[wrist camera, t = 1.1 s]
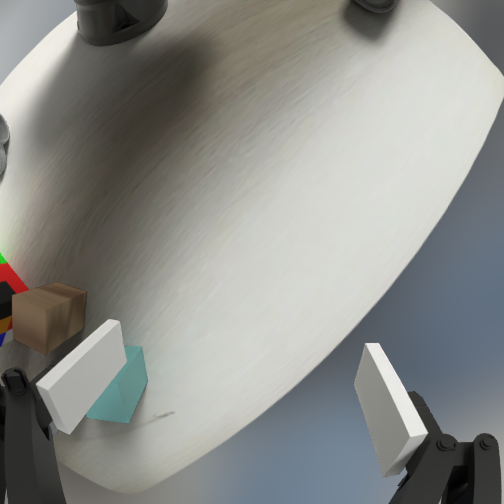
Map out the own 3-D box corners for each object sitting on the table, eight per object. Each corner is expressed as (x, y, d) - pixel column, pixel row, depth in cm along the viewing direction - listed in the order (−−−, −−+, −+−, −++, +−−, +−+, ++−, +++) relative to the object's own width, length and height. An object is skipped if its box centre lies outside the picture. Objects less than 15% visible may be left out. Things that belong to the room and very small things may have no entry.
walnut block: (57, 281, 30) (12, 295, 20) (87, 291, 31) (45, 309, 21) (54, 316, 30) (13, 338, 20) (84, 327, 31) (46, 355, 21)
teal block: (106, 345, 31) (74, 378, 21) (141, 346, 32) (117, 383, 22) (114, 378, 32) (87, 417, 22) (147, 380, 32) (128, 423, 22)
